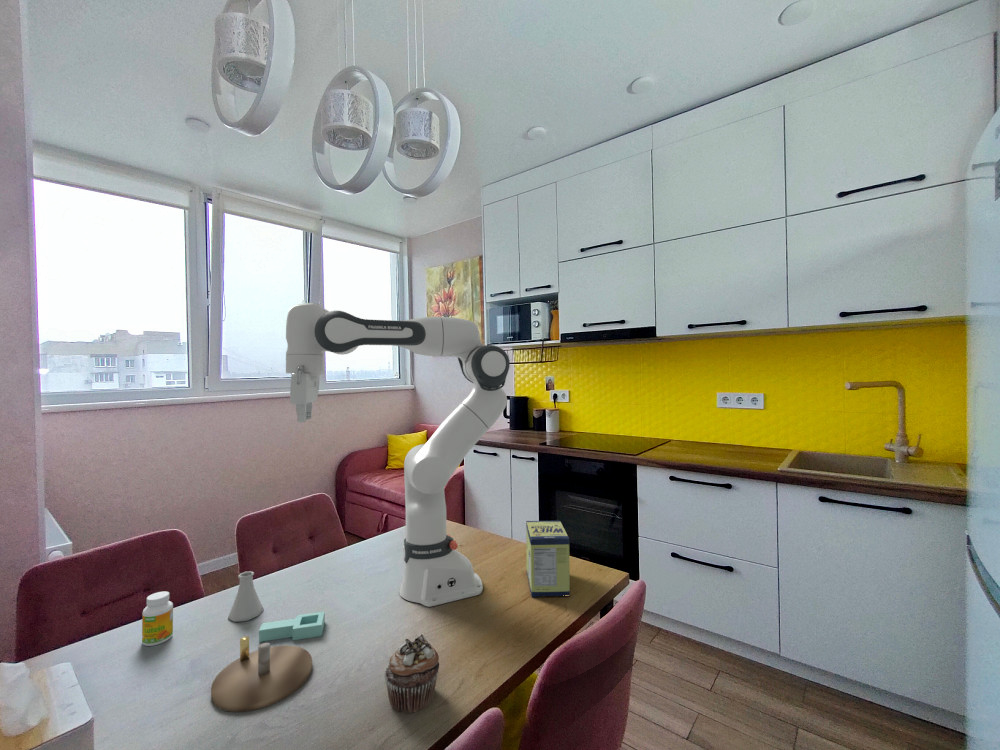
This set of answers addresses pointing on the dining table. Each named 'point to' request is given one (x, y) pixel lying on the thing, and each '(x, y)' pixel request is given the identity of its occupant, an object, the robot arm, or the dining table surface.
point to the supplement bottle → (157, 619)
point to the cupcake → (412, 675)
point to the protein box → (547, 558)
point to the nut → (294, 627)
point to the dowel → (244, 648)
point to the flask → (245, 600)
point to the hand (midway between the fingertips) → (304, 420)
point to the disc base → (261, 678)
